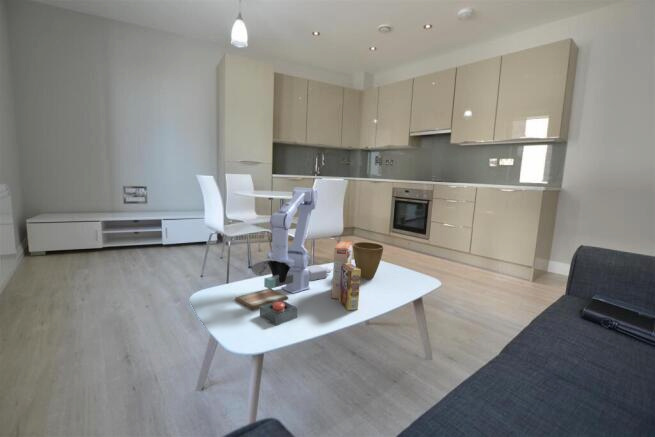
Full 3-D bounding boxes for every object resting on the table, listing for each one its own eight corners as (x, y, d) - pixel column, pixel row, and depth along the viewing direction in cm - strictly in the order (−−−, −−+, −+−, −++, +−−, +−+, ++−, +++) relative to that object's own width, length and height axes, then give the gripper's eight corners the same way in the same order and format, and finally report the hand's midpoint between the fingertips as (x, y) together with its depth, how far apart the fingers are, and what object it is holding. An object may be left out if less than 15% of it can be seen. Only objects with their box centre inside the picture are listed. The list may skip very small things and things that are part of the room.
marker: (290, 279, 123) (290, 271, 123) (295, 281, 121) (295, 273, 121) (264, 286, 114) (264, 278, 114) (269, 289, 112) (269, 280, 112)
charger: (336, 276, 153) (311, 281, 144) (325, 271, 160) (300, 276, 151) (336, 267, 152) (311, 271, 143) (325, 262, 159) (300, 266, 150)
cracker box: (346, 300, 123) (349, 248, 120) (331, 298, 124) (333, 247, 121) (350, 288, 136) (353, 241, 134) (337, 287, 138) (339, 240, 135)
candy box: (359, 309, 115) (361, 269, 113) (348, 310, 113) (350, 270, 111) (348, 300, 123) (350, 262, 121) (338, 301, 122) (340, 263, 120)
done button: (279, 307, 109) (279, 300, 108) (286, 310, 106) (287, 304, 106) (270, 310, 106) (270, 303, 105) (277, 314, 103) (277, 307, 103)
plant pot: (348, 279, 149) (349, 246, 146) (354, 270, 163) (356, 240, 161) (379, 283, 144) (381, 250, 142) (383, 274, 158) (385, 243, 156)
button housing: (281, 309, 112) (281, 299, 112) (297, 317, 106) (297, 307, 106) (259, 316, 106) (259, 306, 106) (275, 325, 100) (275, 315, 99)
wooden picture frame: (270, 290, 130) (270, 287, 130) (288, 299, 122) (288, 296, 121) (234, 300, 118) (234, 296, 118) (252, 310, 110) (252, 306, 110)
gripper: (259, 243, 117) (259, 278, 119) (283, 250, 108) (282, 288, 109) (274, 241, 123) (274, 274, 124) (299, 247, 113) (298, 284, 115)
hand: (279, 280), depth 117 cm, fingers closed on marker, 3 cm apart
